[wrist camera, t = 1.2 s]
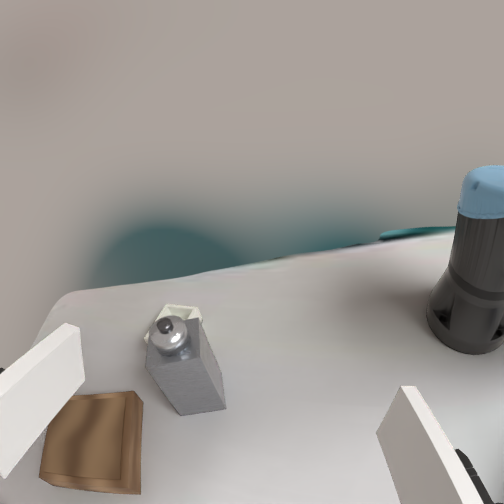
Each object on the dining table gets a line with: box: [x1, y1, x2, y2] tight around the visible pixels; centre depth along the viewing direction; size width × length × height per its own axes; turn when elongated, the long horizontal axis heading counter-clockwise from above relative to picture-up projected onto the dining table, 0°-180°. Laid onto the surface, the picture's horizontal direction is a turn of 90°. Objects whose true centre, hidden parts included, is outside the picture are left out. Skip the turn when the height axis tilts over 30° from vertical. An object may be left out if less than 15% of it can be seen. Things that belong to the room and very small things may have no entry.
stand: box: [39, 391, 143, 494], centre depth 30 cm, size 14×14×3 cm
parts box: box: [144, 304, 203, 345], centre depth 46 cm, size 8×6×3 cm
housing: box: [145, 315, 226, 416], centre depth 33 cm, size 6×6×14 cm
